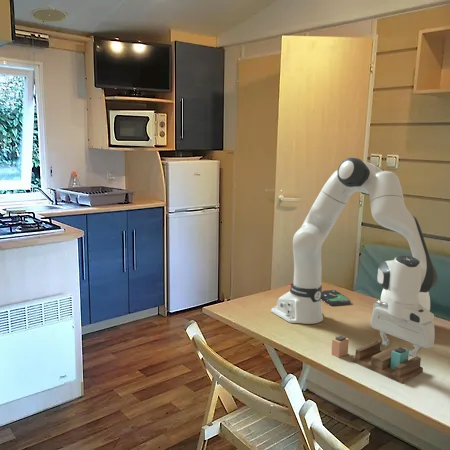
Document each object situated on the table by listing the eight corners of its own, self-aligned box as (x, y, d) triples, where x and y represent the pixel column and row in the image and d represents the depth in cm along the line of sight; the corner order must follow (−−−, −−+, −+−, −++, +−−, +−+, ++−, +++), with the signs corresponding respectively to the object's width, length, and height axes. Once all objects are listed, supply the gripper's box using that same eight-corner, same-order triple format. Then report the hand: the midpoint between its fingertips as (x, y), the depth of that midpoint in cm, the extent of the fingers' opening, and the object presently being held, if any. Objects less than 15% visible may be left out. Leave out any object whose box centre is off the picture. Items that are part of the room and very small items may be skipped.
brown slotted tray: (352, 361, 155) (353, 348, 154) (373, 352, 163) (374, 339, 162) (401, 383, 141) (403, 369, 141) (422, 372, 149) (423, 358, 148)
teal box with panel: (390, 367, 148) (391, 349, 147) (398, 363, 151) (400, 345, 150) (398, 371, 146) (400, 353, 145) (407, 366, 149) (409, 349, 148)
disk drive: (314, 296, 222) (330, 307, 208) (315, 291, 222) (330, 300, 208) (334, 295, 225) (350, 305, 211) (334, 289, 225) (351, 299, 211)
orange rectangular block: (331, 354, 160) (332, 338, 159) (340, 350, 163) (341, 334, 162) (338, 357, 158) (339, 341, 157) (347, 354, 161) (348, 337, 160)
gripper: (368, 301, 151) (364, 341, 154) (428, 321, 135) (423, 365, 138) (379, 297, 155) (376, 336, 157) (439, 316, 139) (434, 359, 142)
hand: (398, 350), depth 147 cm, fingers open, 8 cm apart
